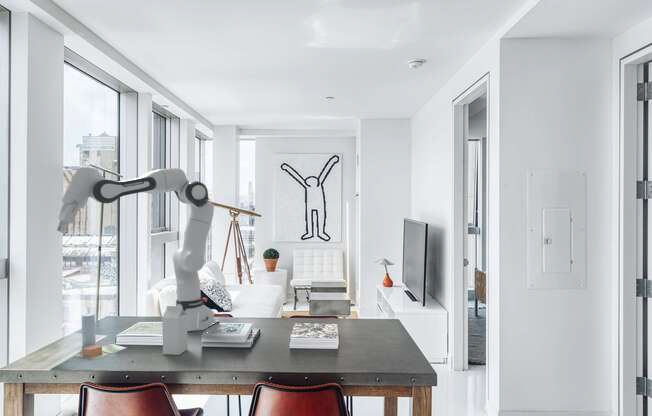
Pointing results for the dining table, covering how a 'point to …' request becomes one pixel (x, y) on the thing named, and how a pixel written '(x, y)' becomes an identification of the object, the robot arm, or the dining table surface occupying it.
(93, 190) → the robot arm
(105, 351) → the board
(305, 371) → the dining table surface
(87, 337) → the tall grey block
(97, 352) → the terracotta marker
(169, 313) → the milk carton
